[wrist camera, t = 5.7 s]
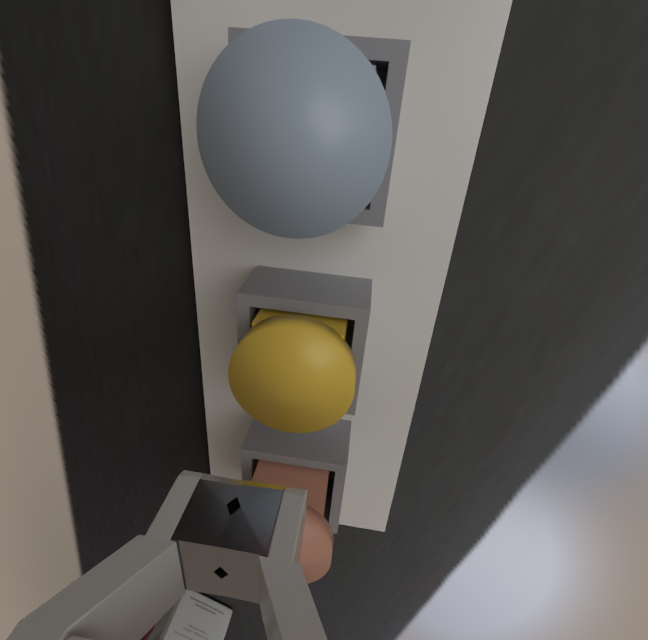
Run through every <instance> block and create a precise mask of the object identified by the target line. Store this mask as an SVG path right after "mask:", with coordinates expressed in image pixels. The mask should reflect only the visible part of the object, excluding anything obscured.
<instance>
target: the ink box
mask: <svg viewBox="0 0 648 640" xmlns="http://www.w3.org/2000/svg"><path fill="white" fill-rule="evenodd" d="M231 615H232V610H231V609H230V608H228V607H226V606H224V605H222V604H220V603H218V602H216V601H214V600H212V599H211V598H209V597H207V596H205V595H203V594H201V593H199V592H195V591H189V590H185V594H184V595H183V596H182V597H181V598H180V599H179V600H178V601H177V602H176V603H175V604H174V605H173V606H172V607H171V608H170V610H169V611H168V612H167V613H166V614H165V615H164V616H163V617H162V618H161V619H160V620H159V621H158V622H157V623H156V624H155V625H154V626H153V627H152V628H151V629H150V630H149V631H148V632H147V633H146V635H145V637H144V639H143V640H224V637H225V634H226V631H227V628H228V624H229V621H230V618H231Z"/></svg>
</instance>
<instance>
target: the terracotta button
mask: <svg viewBox="0 0 648 640" xmlns="http://www.w3.org/2000/svg"><path fill="white" fill-rule="evenodd" d="M329 472H330V471H328V470H322V469H316V468H309V467H303V466H297V465H290V464H284V463H278V462H272V461H265V460H259V461H258V464H257V467H256V470H255V473H254V475H253V478H252V481H254V482H260V483H267V484H274V485H281V486H286V487H290V488H297V489H303V490H307V504H306V515H305V525H304V533H303V540H302V547H301V553H300V558H299V563H300V565H301V568H302V571H303V574H304V576H305V579H306V582H307V584H308V583H311V582H314V581H316V580H318V579H320V578H321V577H323V576H324V575H325V574H326V573H327V571H328V570H329V568H330V565H331V558H332V549H333V539H334V536H333V531H332V528H331V526H330V524H329V522H328V521H327V520H326V519H325V518H324V511H325V504H326V497H327V488H328V480H329Z"/></svg>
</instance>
